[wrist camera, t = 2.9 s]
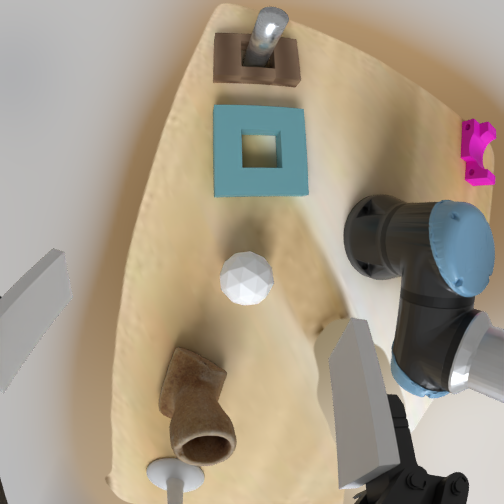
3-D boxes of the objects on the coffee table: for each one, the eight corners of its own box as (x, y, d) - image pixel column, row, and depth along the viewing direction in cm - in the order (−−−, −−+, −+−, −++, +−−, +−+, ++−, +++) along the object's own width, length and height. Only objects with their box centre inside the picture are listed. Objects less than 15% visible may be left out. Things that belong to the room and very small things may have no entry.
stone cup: (214, 425, 48) (222, 481, 33) (153, 408, 45) (144, 464, 31) (243, 362, 47) (261, 413, 33) (176, 341, 45) (169, 390, 30)
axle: (265, 54, 42) (287, 8, 29) (266, 72, 43) (290, 28, 29) (242, 53, 42) (258, 5, 28) (243, 71, 42) (259, 24, 28)
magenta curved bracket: (461, 122, 52) (482, 116, 45) (475, 134, 53) (495, 129, 46) (458, 175, 53) (481, 172, 45) (472, 185, 54) (494, 184, 47)
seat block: (297, 115, 45) (303, 109, 42) (301, 196, 46) (308, 194, 43) (213, 111, 42) (214, 104, 39) (214, 197, 44) (215, 195, 41)
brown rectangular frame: (291, 47, 43) (296, 39, 40) (295, 87, 44) (300, 80, 41) (214, 42, 41) (215, 32, 38) (213, 82, 42) (214, 74, 39)
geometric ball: (238, 283, 49) (224, 318, 42) (221, 243, 45) (203, 276, 38) (282, 279, 46) (273, 316, 40) (269, 237, 42) (258, 271, 36)
